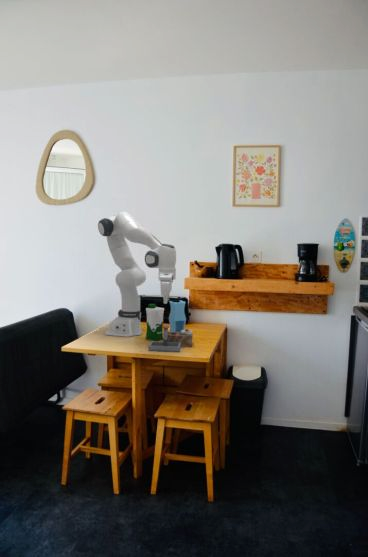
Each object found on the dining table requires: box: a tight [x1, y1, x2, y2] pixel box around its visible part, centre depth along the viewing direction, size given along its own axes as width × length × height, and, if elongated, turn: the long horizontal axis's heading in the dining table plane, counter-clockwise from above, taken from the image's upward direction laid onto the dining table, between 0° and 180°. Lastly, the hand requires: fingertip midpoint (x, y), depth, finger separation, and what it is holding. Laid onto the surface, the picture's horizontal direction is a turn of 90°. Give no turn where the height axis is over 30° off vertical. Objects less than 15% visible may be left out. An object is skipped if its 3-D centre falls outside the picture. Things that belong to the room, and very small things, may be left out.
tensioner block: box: [168, 328, 194, 348], centre depth 226 cm, size 16×9×9 cm, turn 87°
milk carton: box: [145, 303, 165, 342], centre depth 236 cm, size 9×9×20 cm
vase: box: [168, 300, 187, 332], centre depth 249 cm, size 8×8×20 cm
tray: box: [148, 340, 181, 353], centre depth 216 cm, size 16×10×2 cm, turn 87°
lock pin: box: [162, 323, 170, 346], centre depth 216 cm, size 4×4×12 cm
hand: (166, 302), depth 214 cm, fingers open, 8 cm apart
